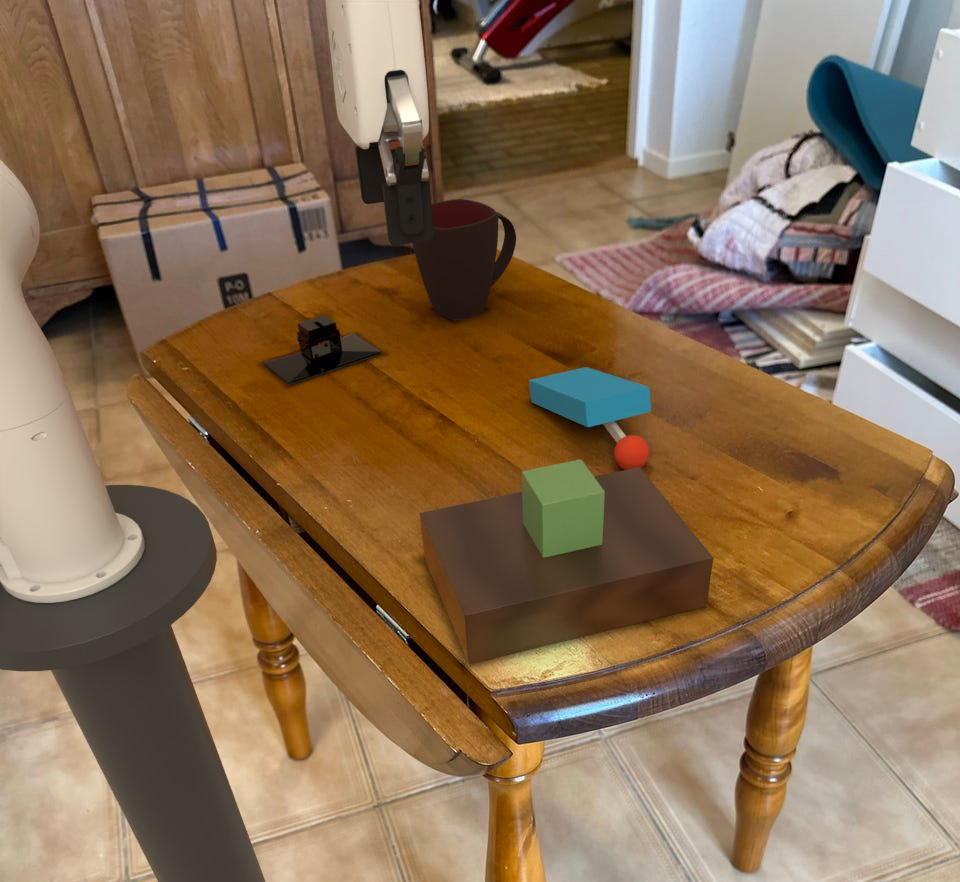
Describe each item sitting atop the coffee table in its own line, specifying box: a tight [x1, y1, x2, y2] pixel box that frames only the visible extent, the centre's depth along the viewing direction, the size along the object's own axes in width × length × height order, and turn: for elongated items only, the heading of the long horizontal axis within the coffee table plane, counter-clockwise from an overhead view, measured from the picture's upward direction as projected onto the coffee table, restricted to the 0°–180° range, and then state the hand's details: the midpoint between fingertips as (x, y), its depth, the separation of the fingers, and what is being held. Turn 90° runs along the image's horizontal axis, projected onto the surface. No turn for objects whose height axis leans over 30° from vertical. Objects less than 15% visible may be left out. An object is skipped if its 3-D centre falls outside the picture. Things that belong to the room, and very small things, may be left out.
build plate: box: [263, 314, 382, 386], centre depth 110 cm, size 12×7×5 cm, turn 125°
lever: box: [528, 366, 652, 470], centre depth 95 cm, size 7×7×18 cm
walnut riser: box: [419, 467, 714, 665], centre depth 76 cm, size 20×14×5 cm
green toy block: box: [521, 458, 605, 558], centre depth 73 cm, size 5×5×5 cm
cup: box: [411, 198, 517, 321], centre depth 117 cm, size 10×14×12 cm
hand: (396, 220), depth 69 cm, fingers open, 9 cm apart
